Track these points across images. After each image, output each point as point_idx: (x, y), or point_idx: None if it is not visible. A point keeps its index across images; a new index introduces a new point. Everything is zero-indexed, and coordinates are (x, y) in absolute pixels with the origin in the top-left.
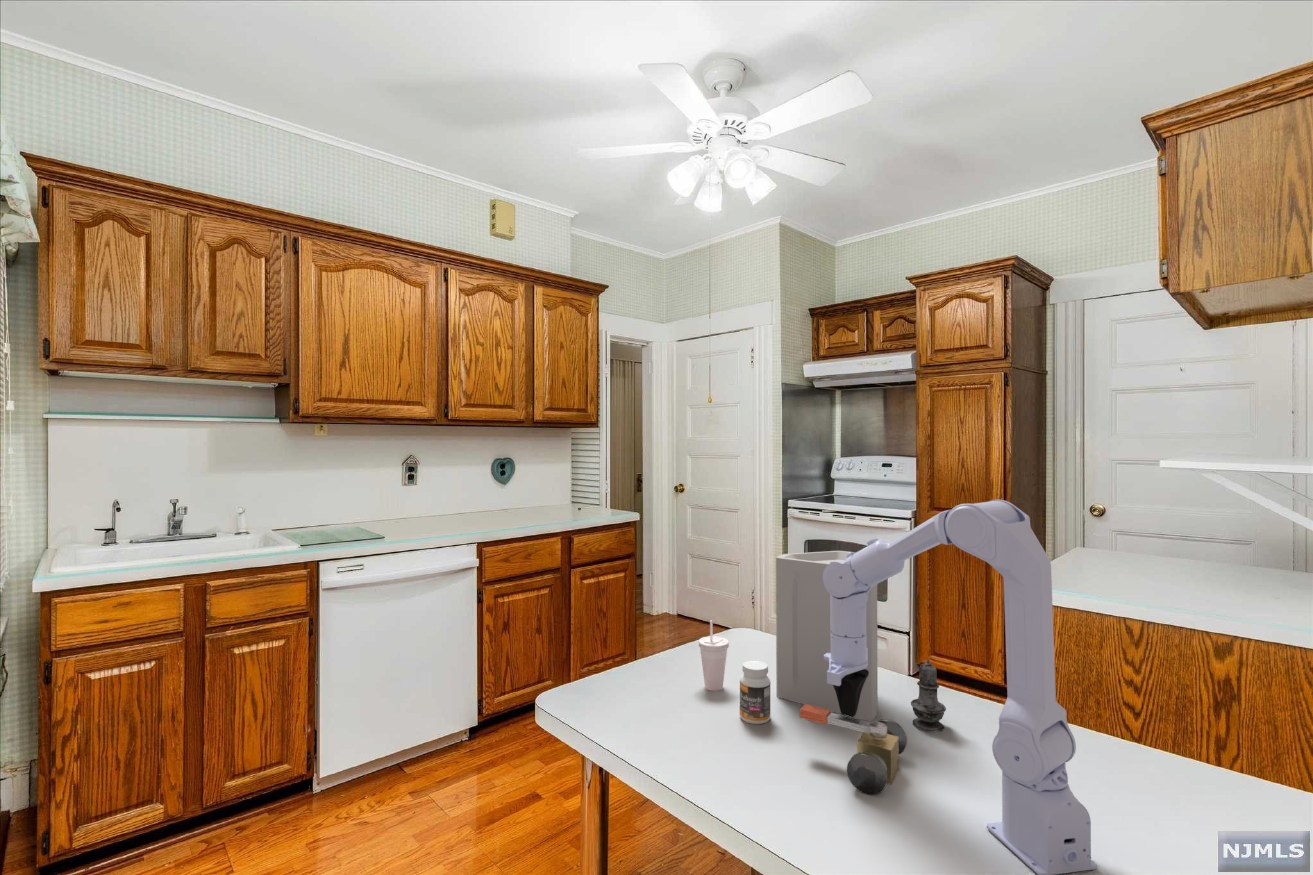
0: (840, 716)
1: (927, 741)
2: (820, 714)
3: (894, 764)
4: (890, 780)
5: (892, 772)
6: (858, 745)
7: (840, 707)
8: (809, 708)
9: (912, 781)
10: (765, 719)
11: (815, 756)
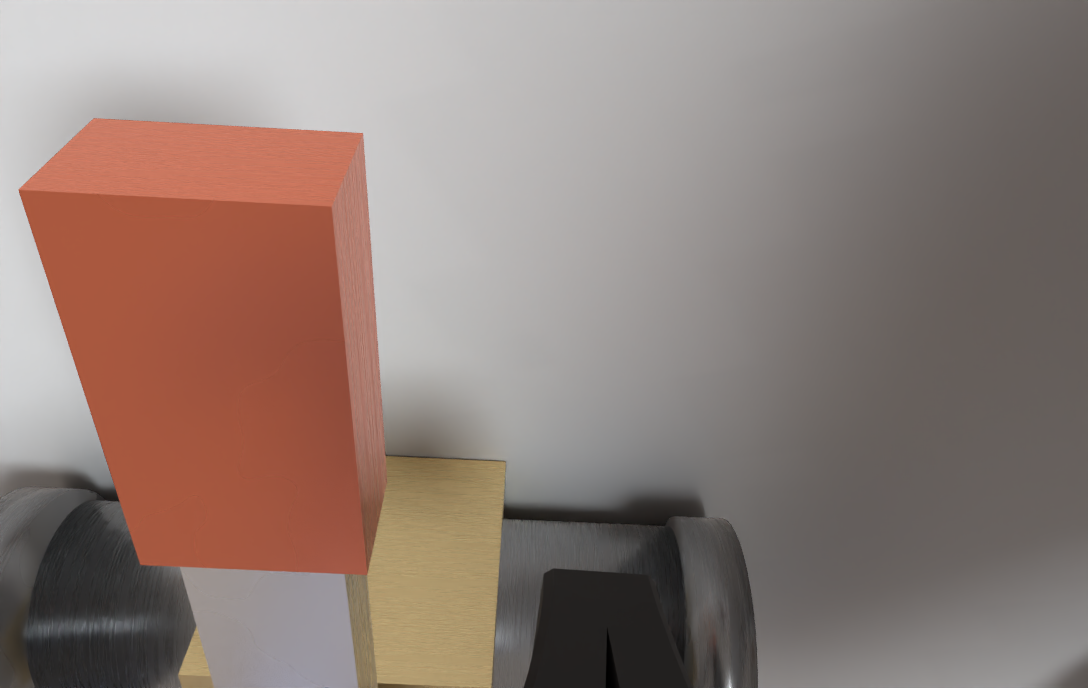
0: (309, 654)
1: (968, 681)
2: (125, 498)
3: None
4: None
5: None
6: (192, 647)
7: (536, 640)
8: (202, 319)
9: None
10: None
11: (318, 117)
